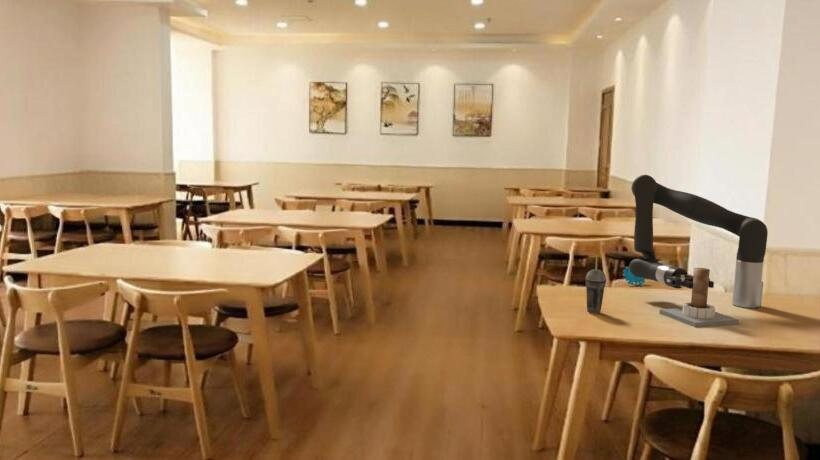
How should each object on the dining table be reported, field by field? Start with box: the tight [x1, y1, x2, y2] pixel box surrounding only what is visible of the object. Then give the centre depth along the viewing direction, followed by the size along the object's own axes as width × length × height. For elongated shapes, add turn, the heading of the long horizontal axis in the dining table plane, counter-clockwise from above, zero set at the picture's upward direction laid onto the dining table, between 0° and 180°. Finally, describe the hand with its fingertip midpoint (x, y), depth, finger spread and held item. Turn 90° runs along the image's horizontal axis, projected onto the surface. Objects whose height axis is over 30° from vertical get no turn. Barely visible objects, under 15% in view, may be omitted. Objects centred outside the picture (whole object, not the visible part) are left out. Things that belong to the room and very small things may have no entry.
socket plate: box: [658, 302, 740, 328], centre depth 235 cm, size 18×18×4 cm
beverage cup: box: [584, 256, 607, 315], centre depth 238 cm, size 7×7×20 cm
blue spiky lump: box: [622, 266, 646, 287], centre depth 291 cm, size 11×6×10 cm
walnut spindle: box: [690, 267, 711, 309], centre depth 234 cm, size 5×5×16 cm
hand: (702, 285), depth 233 cm, fingers open, 8 cm apart
